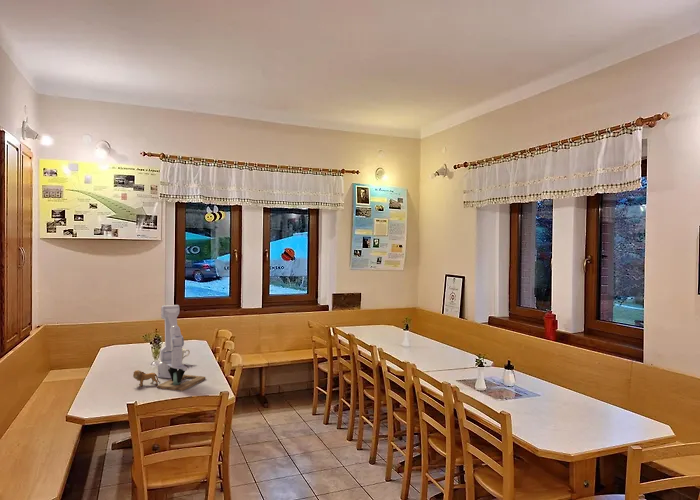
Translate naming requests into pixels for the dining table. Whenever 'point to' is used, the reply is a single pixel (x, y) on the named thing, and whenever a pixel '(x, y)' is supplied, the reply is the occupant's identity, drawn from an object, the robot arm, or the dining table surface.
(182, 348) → the teacup
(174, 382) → the teal peg
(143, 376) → the lion figurine
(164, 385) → the brown wooden frame
